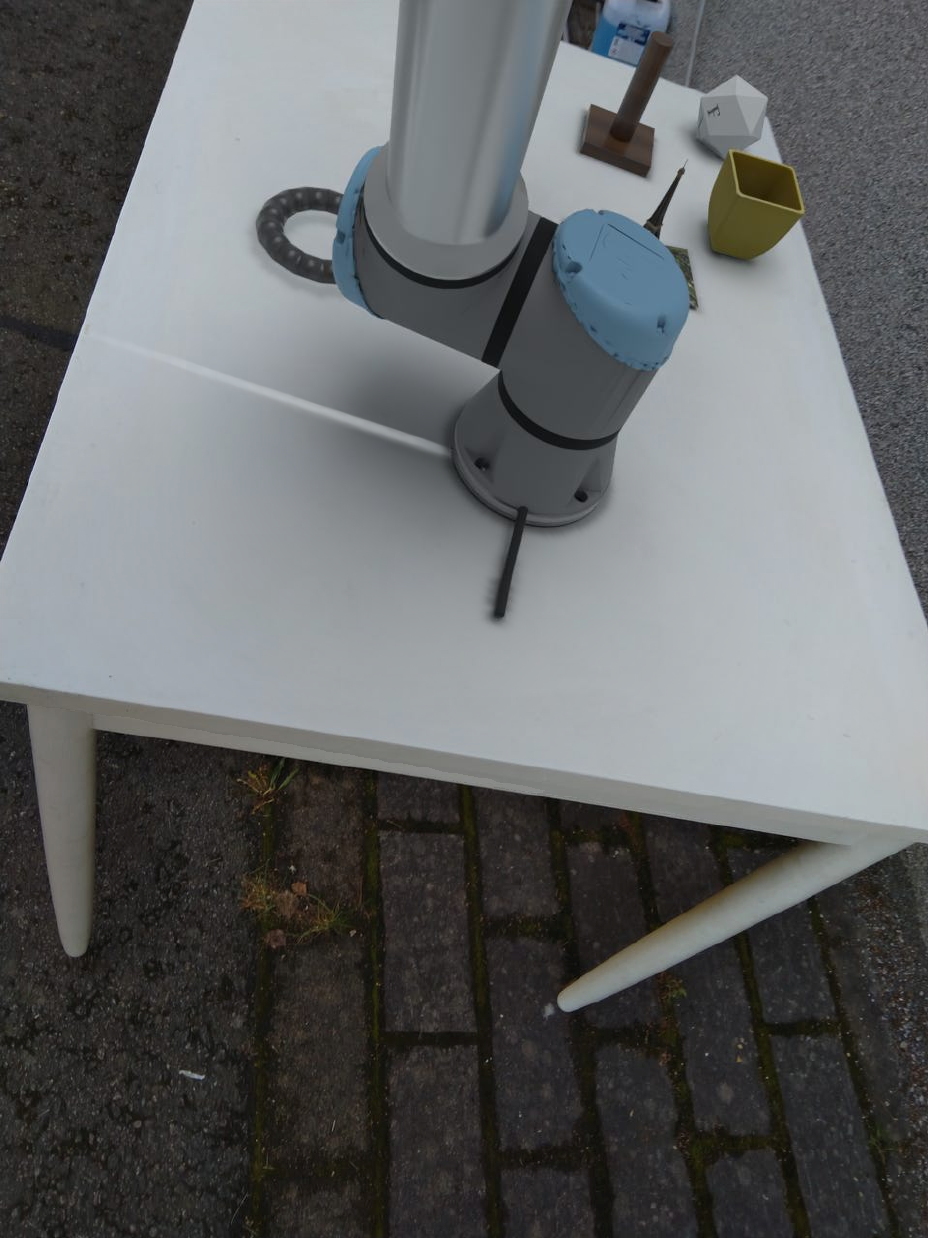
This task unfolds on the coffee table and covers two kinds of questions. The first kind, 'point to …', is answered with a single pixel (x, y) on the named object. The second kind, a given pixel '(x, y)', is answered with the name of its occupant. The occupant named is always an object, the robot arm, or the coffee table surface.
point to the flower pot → (752, 205)
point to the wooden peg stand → (629, 115)
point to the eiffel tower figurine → (678, 253)
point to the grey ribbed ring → (278, 243)
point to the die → (731, 116)
